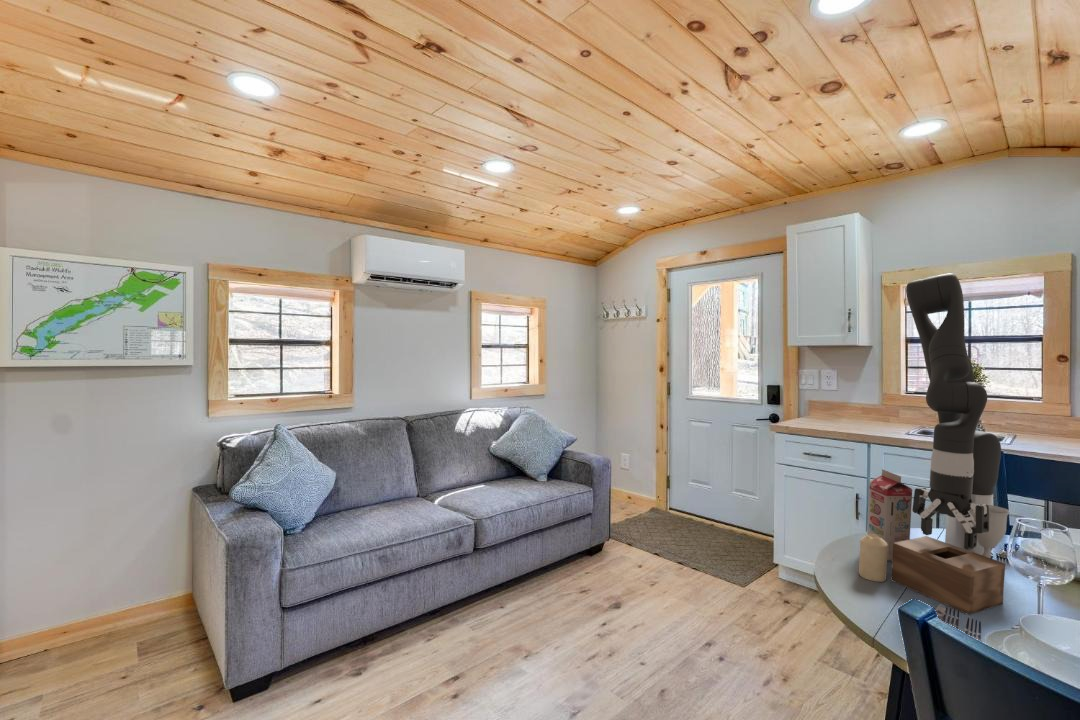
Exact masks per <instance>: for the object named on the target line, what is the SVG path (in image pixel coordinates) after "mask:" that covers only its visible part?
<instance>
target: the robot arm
mask: <svg viewBox="0 0 1080 720" xmlns="http://www.w3.org/2000/svg"><path fill="white" fill-rule="evenodd" d="M905 293H906V299H907V303H908V306H909V310H910V313H911V316H912V318H913V321H914V325H915V326H916V327H915V328H916V331H917V333H918V337H919V340H920V344H921V348H922V353H923V357H924V362H925V367H926V371H927V376H928V380H929V384H928V386H927V389H926V393H925V394H926V395H925V401H926V405H927V406H928V407H929V409H931V410H932V411H934V412H937V416H938V424H935V426H934V428H933V442H932V443H933V444H932V452H931V453H932V454H931V457H930V471H929V472H930V473H929V488H930V489H929V490H927V488H926V487H917V488H915V489H914V494H913V499H912V501H913V502H912V508H911V512H913V513H914V514H917V515H919V516H920V519H921V521H920V529H921V532H922V535H924V536H930V535H932V534H933V520H934V519H933V518H932V517H933V516H935V514H937V513H938V514H940V515H946V521H945V536H944V537H945V538H944V542H945V543H948V544H951V545H954V546H956V547H959V548H962V549H965V550H968V551H971V552H974V553H977V554H979V555H982V554H983V553H984V547H982V546H981V545H979V543H978V541H977V534H978V533H979V534H981V533H985V532H989V506H988V505H993V506H994V491H995V487H996V485H997V483H998V478H999V472H1000V465H1001V457H1002V447H1001V446H1002V445H1001V442H1000V440H999V438H998V436H996V435H995V434H994V433H991V432H988V431H984V430H983V431H982V430H977V427H978V424H979V421H980V419H981V416H982V414H983V413H984V410H985V407H986V405H987V402H988V392H987V390H986V388H985V387H984V386H983V384H980V383H979V382H976V380H975V373H974V371H973V370H974V369H973V367H972V366H973V364H972V362H971V358H970V356H969V355H968V351H967V347H966V339H965V304H964V293H963V290H962V285H961V282H960V280H959V278H958V277H957V275H956V274H954V273H952V272H951V273H943V274H938V275H933V276H929V277H925V278H921V279H917V280H916V279H915V280H912V281H909V282H908V283H907V284H906V287H905ZM946 311H947V312H946ZM941 312H946V316H945V317H944V319H943V321H942V322H941V324H940V326H939V327H938V328H937V327H936V326H935V325H934V323H933V321H932V320H931V318H930V316H929V314H930V315H932V314H936V313H941ZM927 498H928V499H929V501H930V502H931V503H930V504H929V505H928V506H926V500H927ZM971 508H972V509H973V512H974V513H975V514H976V523H975V522H974V518H973V516H972V510H971ZM991 550H992V548H990V551H989V552H990V553H991Z"/></svg>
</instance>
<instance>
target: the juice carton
mask: <svg viewBox="0 0 1080 720" xmlns="http://www.w3.org/2000/svg"><path fill="white" fill-rule="evenodd" d="M868 488H869V490H868V505H867V506H868V509H867V510H868V511H867V527H866V535H867V534H876V535H877V536H879V537H880V538H882V539H883V540H884V541H885V542H886V543H887V544H888V551H887V560H892V558H893V543H895V542H900V541H905V540H910V539H911V524H912V523H911V522H912V521H911V520H912V519H911V518H912V506H913V502H912V501H913V489H912V487H910V486H908V485H907V484H904V483H902V476H901V475H897V474H896V473H893V472H890V471H888V470H885V469H881V475H879V476H878V477H875V478H874V479H872V480H870V481H869V487H868Z"/></svg>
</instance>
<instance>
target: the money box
mask: <svg viewBox="0 0 1080 720" xmlns="http://www.w3.org/2000/svg"><path fill="white" fill-rule="evenodd" d="M1005 571H1006V563H1005V562H1002V561H1000V560H996V559H994V558H992V557H991V558H988V557H985V556H982V555H979V554H977V553H974V552H971V551H968V550H965V549H962V548H959V547H956V546H954V545H951V544H948V543H945V541H941V540H940V539H936V538H933V537H930V536H929V535H924V536H921V537H915V538H910V540H905V541H900V542H895V543H893V558H892V562H891V579H890V580H891V581H892V580H893V581H892V582H894V581H895V583H897V584H899V585H901V586H903V587H906V588H907V589H911V590H913V591H915V592H917V593H919V594H921V595H923V596H925V597H928V598H930V599H933V600H934V601H937V602H939V603H942V604H944V605H945V606H948V607H951V608H953V609H955V610H958V611H960V612H962V613H963V614H966V615H971V614H975V613H978V612H981V611H985V610H987V609H991V608H994V607H998V606H1001V605H1003V604H1004V590H1005V577H1006V576H1005V574H1006V572H1005Z"/></svg>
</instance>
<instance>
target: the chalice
mask: <svg viewBox="0 0 1080 720" xmlns="http://www.w3.org/2000/svg"><path fill="white" fill-rule="evenodd" d="M988 506H989V532H985V533H981V534H979V533H978V534H977V541H978V543H979V545H981V546H982V547H984V553H983V554H982V556H985V557H988V558H991V559H992V556H991V552H989V551H990V548H991V549H995V548H996V547H997V546H998V545H999V544H1000V542H1002V539H1003V538H1004V537H1005V534H1006V533H1007V522H1008V516H1009V514H1010V513H1011V511H1010V509H1007V508H1005V507H1001V506H997V505H994V504H993V505H988ZM971 510H972V516H973V518H974V522H975V523H976V514H975V513H974V512H973V509H972V508H971Z"/></svg>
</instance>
